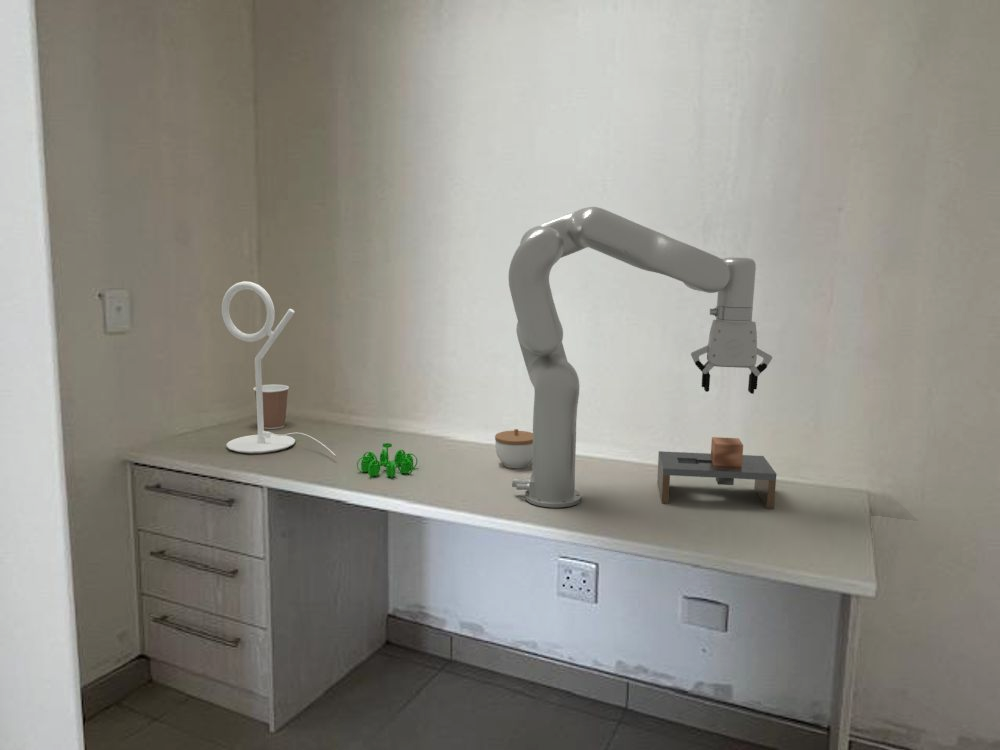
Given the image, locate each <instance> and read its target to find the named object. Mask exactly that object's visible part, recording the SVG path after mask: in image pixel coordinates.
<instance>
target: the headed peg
mask: <svg viewBox="0 0 1000 750" xmlns="http://www.w3.org/2000/svg"><path fill="white" fill-rule="evenodd" d="M743 453H744V444H743V443H742V441H741V440H740V438H739V437H738V438H737V437H720V436H719V437H716V436H711V446H710V454H711V460H712V462H713V465H714V466H731V467H742V457H743V455H744V454H743ZM715 482H716V483H717V485H723V486H724V485H725V486H734V482H735V478H715Z"/></svg>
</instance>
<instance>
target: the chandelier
mask: <svg viewBox="0 0 1000 750" xmlns="http://www.w3.org/2000/svg"><path fill="white" fill-rule="evenodd" d="M392 446H393V444H392V443H389V442H388V443H383V444H382V447H383V448H382V450H381V452H380V454H379V460H378V458H377V454H375V453H374V452H373V451H366V452H365V453H364V454H363V456H361V457H360V458H359V459H358V460H357V462H356V469H357V470H358V471H359V472H360V473H362V474H364V473H365V472H367V474H368V476H369V477H370V478H373V477H375V476H376V475H377V476H379V475H380V470H381V467H383V466H384V467H385V466H386V468H385V469H386V470H385V471H386V473H385V474H386V476H387V477H390V479H393V478H394V476H396V467H397V469H398V471H399V473H400V474H402V473H404V474H409V475H410V474H412V472H413V470H414V469H415V468H416V467H417V464H418V458H417V456H416V455H415V454H413V453H411V452H408V453H406V452H405V450H403V449H398V450H397V451H396V452H395V455H394V459H393V460H390V459H389V448H392ZM385 448H386V449H385ZM413 456H414V458H415V461H416V462H415V465H414V458H413ZM360 461H361V462H360ZM359 462H360V465H361V466H360V469H359ZM377 476H376V477H377Z"/></svg>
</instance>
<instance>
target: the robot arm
mask: <svg viewBox="0 0 1000 750" xmlns="http://www.w3.org/2000/svg"><path fill="white" fill-rule="evenodd" d="M586 248H588V249H592V250H595V251H597V252H599V253H601V254H603V255H606V256H609V257H610V258H613V259H616V260H617V261H620V262H623V263H625V264H628V265H630V266H632V267H635V268H638V269H640V270H643V271H646V272H652V273H656V274H660V275H664V276H666V277H669V278H672V279H675V280H677V281H680V282H682V283H683V284H684V285H685V286H686V287H688V288H689V289H691V290H693V291H697V292H703V293H707V294H713V293H717V301H716V307H714V308H709V315H710V316H714V317H715V319H713V320H712V323H711V327H710V331H709V337H708V343H707V345H706V346H703V347H700V348H699V349H696V350H694V351H692V352H691V353H690V356H691V358H692V361H693V363H694V365H695V366H696V367H697V368H698V369H699V371H700V372H702V373H701V388H703V390H704V391H705V392H706V393H708V392H709V391H710V383H711V374H710V371H711V370H712V369H713V368H714V367H717V368H718V367H720V368H738V369H739V368H743V369H745V368H746V369H747V368H748V369H749V370H750V373H749V374H748V388H747V390H748V393H750V394H752V395H754V394H755V390H757V388H758V377H759V376H760V375H761V373H763V372H764V371H765V370H766V369H767V368H768V366H769V365H770V363H771V361H772V359H773V356H772V355H771V354H769V353H767V352H765V351H763V350H762V349H760V348H758V336H757V335H758V333H757V324H756V321H753V309H754V308H753V305H754V296H755V283H756V282H755V281H756V271H757V267H756V265H757V264H756V261H755V260H754V259H753V258H748V257H725V258H721V257H719V256H716V255H714V254H712V253H709V252H707V251H704V249H703V250H702V249H700V248H698V247H696V246H693V245H690V244H689V243H685V242H682V241H680V240H677V239H675V238H672V237H670V236H668V235H666V234H665V233H664V234H663V233H661V232H659V231H656V230H654V229H651V228H649V227H647V226H644V225H641V224H639V223H638V222H635V221H633V220H631V219H628V218H626V217H623V216H621V215H619V214H616V213H614V212H611V211H610V210H607V209H604V208H601V207H598V206H588V207H584V208H580V209H577V210H575V211H574V212H571V213H568V214H566V215H564V216H562V217H558V218H555V219H553V220H550V221H548V222H545V223H542V224H539V225H537V226H534V227H532V228H529V229H528V230H527V231H526V232H525V233H524V234H523V235H522V237H521V239H520V243H519V246H518V247H517V249H516V250H515V252H514V253H513V256H512V258H511V261H510V264H509V270H508V287H509V291H510V296H511V300H512V303H513V308H514V312H515V315H516V319H517V323H516V331H515V332H516V335H517V336H516V337H517V340H518V341H517V342H518V344H519V347H520V351H521V354H522V357H523V361H524V364H525V367H526V370H527V371H526V372H527V374H528V376H529V377H528V378H529V380H530V382H531V385H532V386H533V388H534V397H533V398H534V400H533V412H532V415H533V416H532V433H533V457H532V461H531V462H532V463H531V464H532V465H531V467H532V468H531V469H532V471H531V477H526V479H523V478H522V479H521V478H512V481H511V482H512V483H511V487H512V488H515V489H516V490H518V491H519V490H520V491H521V490H524V491H525V492H524V499H525V500H526V502H528V503H530V504H532V505H534V506H538V507H541V508H542V507H543V508H551V509H552V508H553V509H557V508H560V509H561V508H567V507H568V508H569V507H572V506H574V505H577V504H580V502H581V501H582V493H581V492H580V491H578V490H577V489H575V488H576V487H575V483H576V456H577V455H576V450H577V449H576V448H577V447H576V445H577V420H578V419H577V418H578V417H577V414H578V404H579V396H580V379H579V375H578V373H577V371H576V369H575V367H574V366H573V365H572V364H571V363H570V362H569V361H568V359H567V355H566V352H565V348H564V344H563V339H564V330H563V329H564V328H563V325H562V323H561V321H560V318H559V315H558V311H557V308H556V304H555V302H554V301H555V300H554V298H553V292H552V289H551V285H550V273H551V270H552V268H553V266H554V265H555V264H556V263H557V262H558V261H559V260H560V259H561V258H564V257H567V256H570V255H571V254H575V253H576V252H580V251H582V250H584V249H586ZM705 354H706V360H707V361H706V362H705V363H704V364H703V363H702V362H701V360H700V357H701V356H702V355H705ZM757 356H759V357H761V358H762V359H763V360H762V361H761V362H760V364H758V365H757V366H756V364H757V358H758V357H757Z"/></svg>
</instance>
